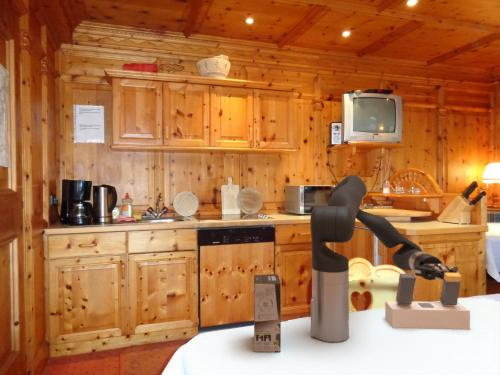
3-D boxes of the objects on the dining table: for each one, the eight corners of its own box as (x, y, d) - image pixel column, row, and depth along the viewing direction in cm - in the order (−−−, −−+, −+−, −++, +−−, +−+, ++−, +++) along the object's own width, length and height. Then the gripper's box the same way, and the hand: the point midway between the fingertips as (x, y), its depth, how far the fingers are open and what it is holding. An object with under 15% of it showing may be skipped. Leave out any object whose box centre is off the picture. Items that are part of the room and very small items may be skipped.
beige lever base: (392, 327, 100) (392, 308, 100) (385, 318, 107) (385, 300, 107) (469, 329, 98) (470, 310, 98) (457, 319, 105) (457, 301, 105)
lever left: (397, 305, 102) (401, 277, 99) (395, 300, 104) (399, 273, 101) (411, 305, 102) (415, 278, 99) (408, 300, 104) (413, 273, 100)
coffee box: (281, 352, 86) (281, 283, 86) (253, 352, 86) (253, 283, 86) (279, 335, 95) (278, 273, 95) (254, 335, 96) (253, 273, 95)
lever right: (443, 305, 101) (447, 276, 99) (440, 301, 103) (444, 272, 100) (456, 306, 101) (461, 276, 98) (453, 301, 103) (458, 272, 100)
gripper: (403, 253, 118) (425, 264, 101) (446, 253, 118) (475, 264, 100) (403, 276, 118) (425, 292, 101) (446, 277, 118) (476, 292, 100)
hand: (450, 278), depth 101 cm, fingers closed
